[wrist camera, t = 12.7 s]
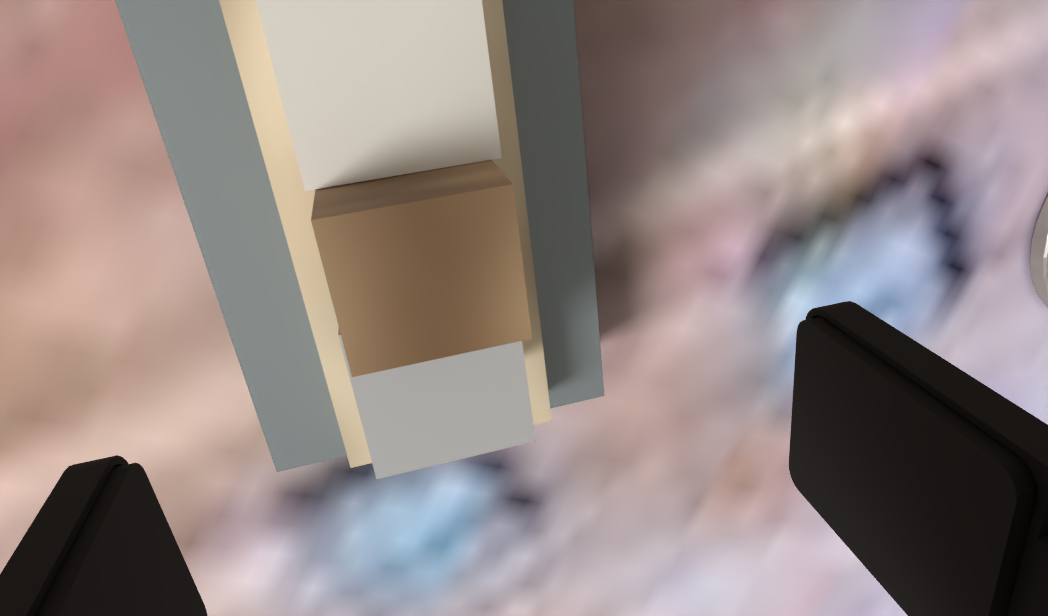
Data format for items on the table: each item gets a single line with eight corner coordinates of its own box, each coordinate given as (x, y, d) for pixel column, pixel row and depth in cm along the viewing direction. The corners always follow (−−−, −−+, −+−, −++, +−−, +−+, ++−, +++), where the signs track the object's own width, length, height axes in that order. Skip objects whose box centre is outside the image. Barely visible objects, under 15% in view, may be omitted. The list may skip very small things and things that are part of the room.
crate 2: (485, 241, 24) (516, 298, 20) (503, 365, 26) (535, 441, 22) (339, 269, 23) (338, 335, 19) (371, 394, 26) (376, 479, 21)
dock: (525, -190, 24) (556, -220, 21) (577, 353, 34) (604, 395, 30) (100, -150, 22) (54, -176, 19) (284, 418, 32) (276, 472, 28)
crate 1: (446, -49, 20) (474, -60, 16) (470, 124, 22) (501, 158, 18) (269, -29, 19) (247, -34, 15) (313, 149, 22) (304, 191, 17)
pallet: (469, -163, 21) (553, -265, 13) (539, 394, 30) (616, 555, 21) (192, -136, 20) (78, -229, 11) (350, 437, 28) (352, 626, 20)
